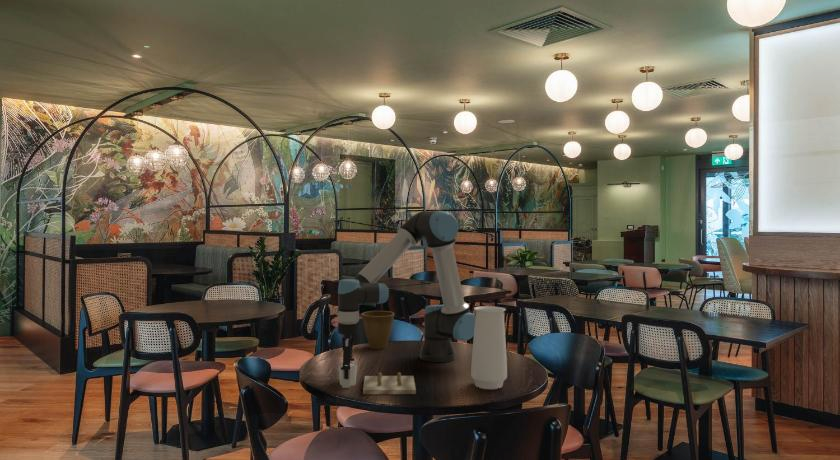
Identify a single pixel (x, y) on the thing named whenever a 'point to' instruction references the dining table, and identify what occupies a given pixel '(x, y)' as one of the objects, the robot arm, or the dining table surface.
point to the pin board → (389, 384)
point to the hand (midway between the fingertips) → (347, 383)
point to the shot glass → (352, 373)
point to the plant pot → (378, 328)
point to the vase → (489, 348)
